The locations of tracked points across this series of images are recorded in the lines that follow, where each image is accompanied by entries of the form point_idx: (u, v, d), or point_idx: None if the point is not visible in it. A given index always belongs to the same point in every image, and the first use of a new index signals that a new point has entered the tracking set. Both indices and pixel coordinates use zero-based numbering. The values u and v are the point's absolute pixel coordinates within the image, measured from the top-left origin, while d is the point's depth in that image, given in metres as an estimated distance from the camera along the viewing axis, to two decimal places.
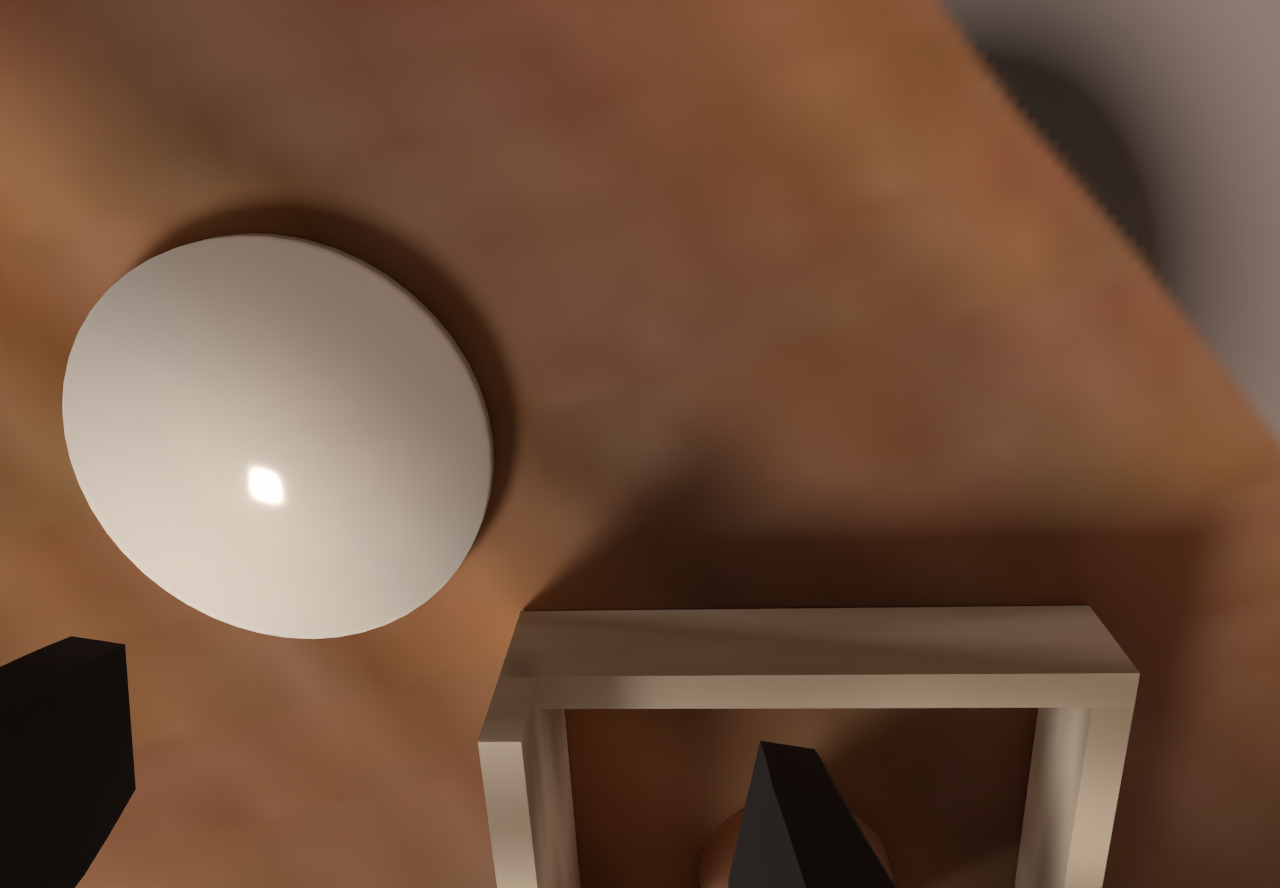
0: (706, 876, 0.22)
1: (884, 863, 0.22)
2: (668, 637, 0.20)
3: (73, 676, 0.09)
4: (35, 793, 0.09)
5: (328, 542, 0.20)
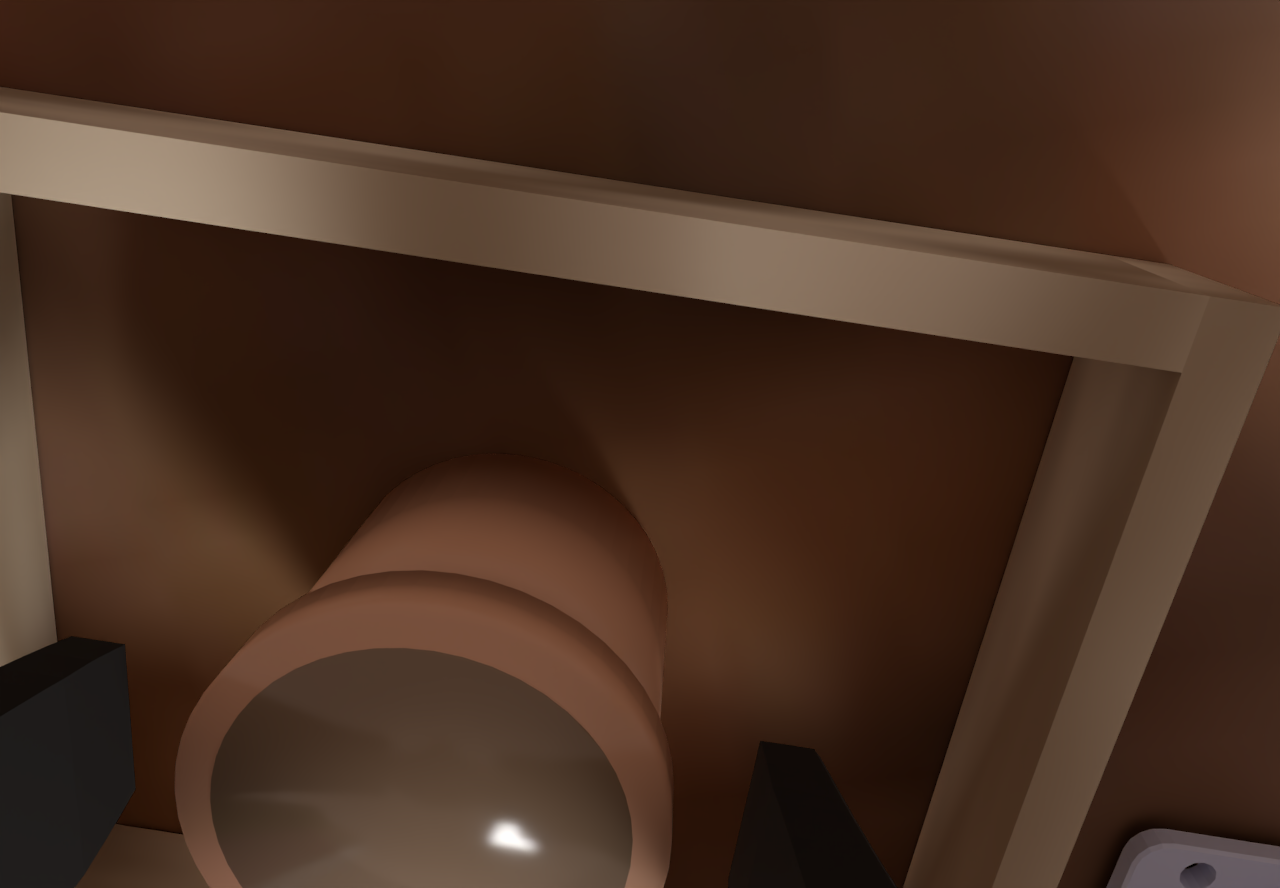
0: None
1: (415, 490, 0.12)
2: None
3: (73, 676, 0.09)
4: (35, 793, 0.09)
5: None
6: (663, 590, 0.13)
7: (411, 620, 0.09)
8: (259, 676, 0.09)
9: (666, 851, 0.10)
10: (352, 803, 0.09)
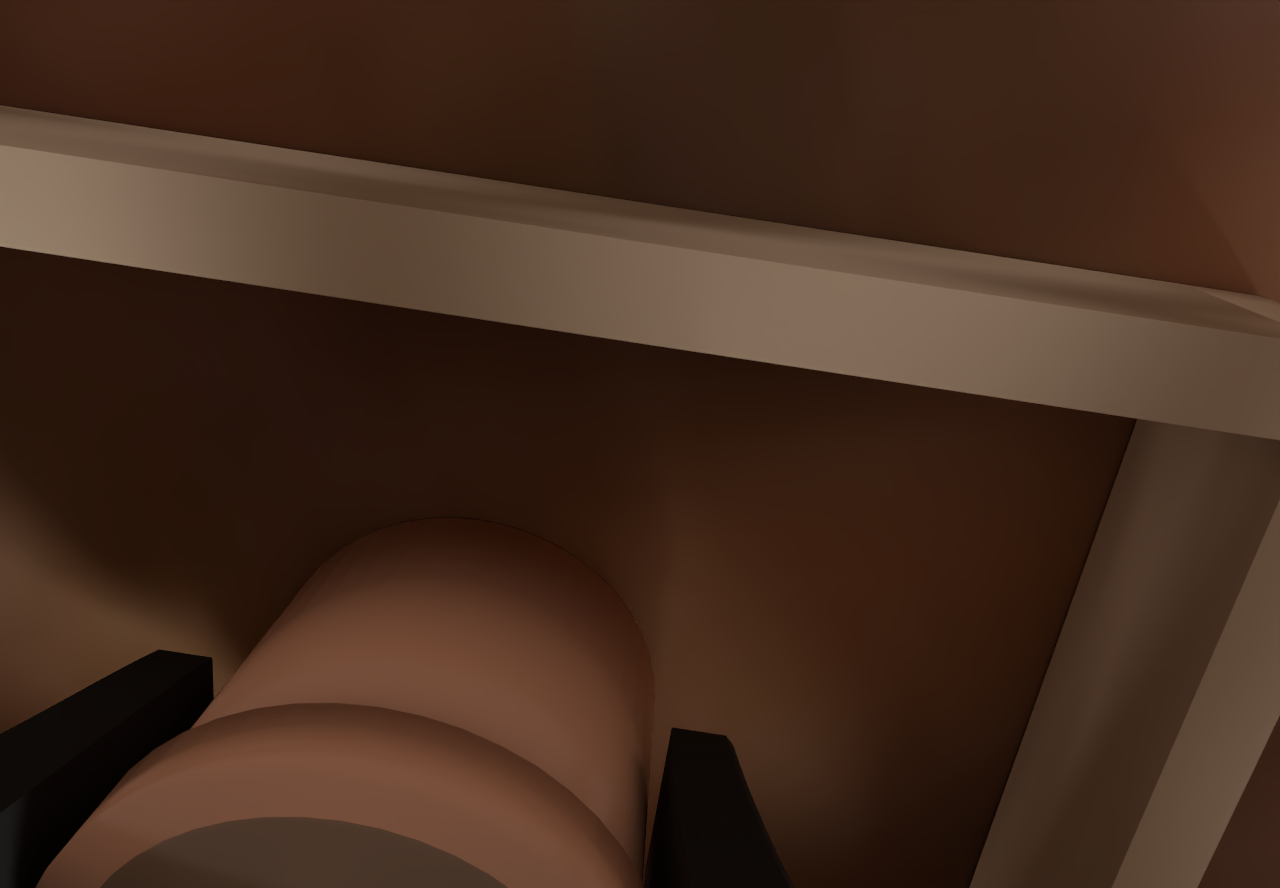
0: None
1: (348, 567, 0.10)
2: None
3: (168, 690, 0.09)
4: None
5: None
6: (649, 678, 0.11)
7: (311, 783, 0.07)
8: (117, 850, 0.07)
9: None
10: None
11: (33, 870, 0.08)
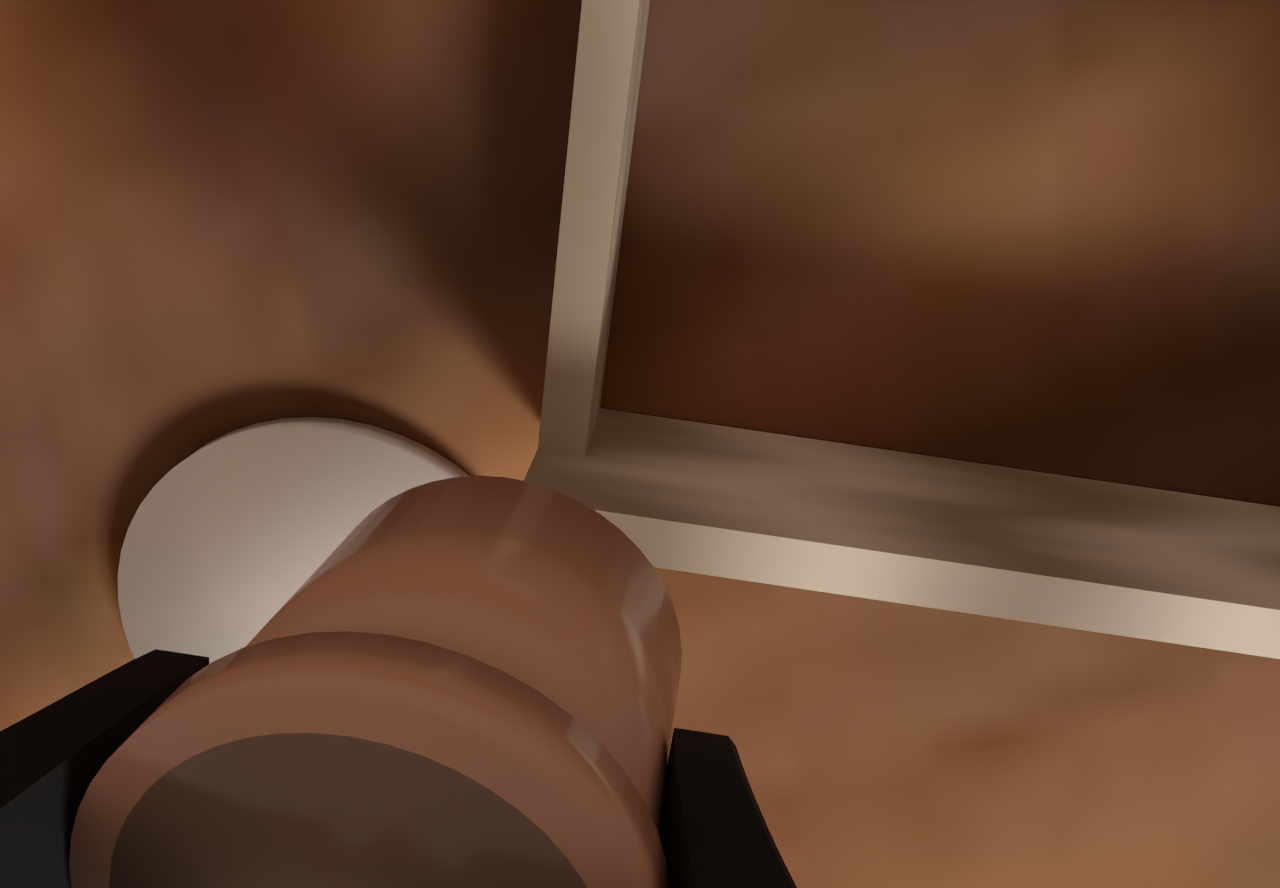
0: None
1: (401, 514, 0.11)
2: None
3: (164, 690, 0.09)
4: None
5: None
6: (677, 652, 0.12)
7: (362, 704, 0.07)
8: (174, 749, 0.07)
9: None
10: None
11: (28, 869, 0.08)
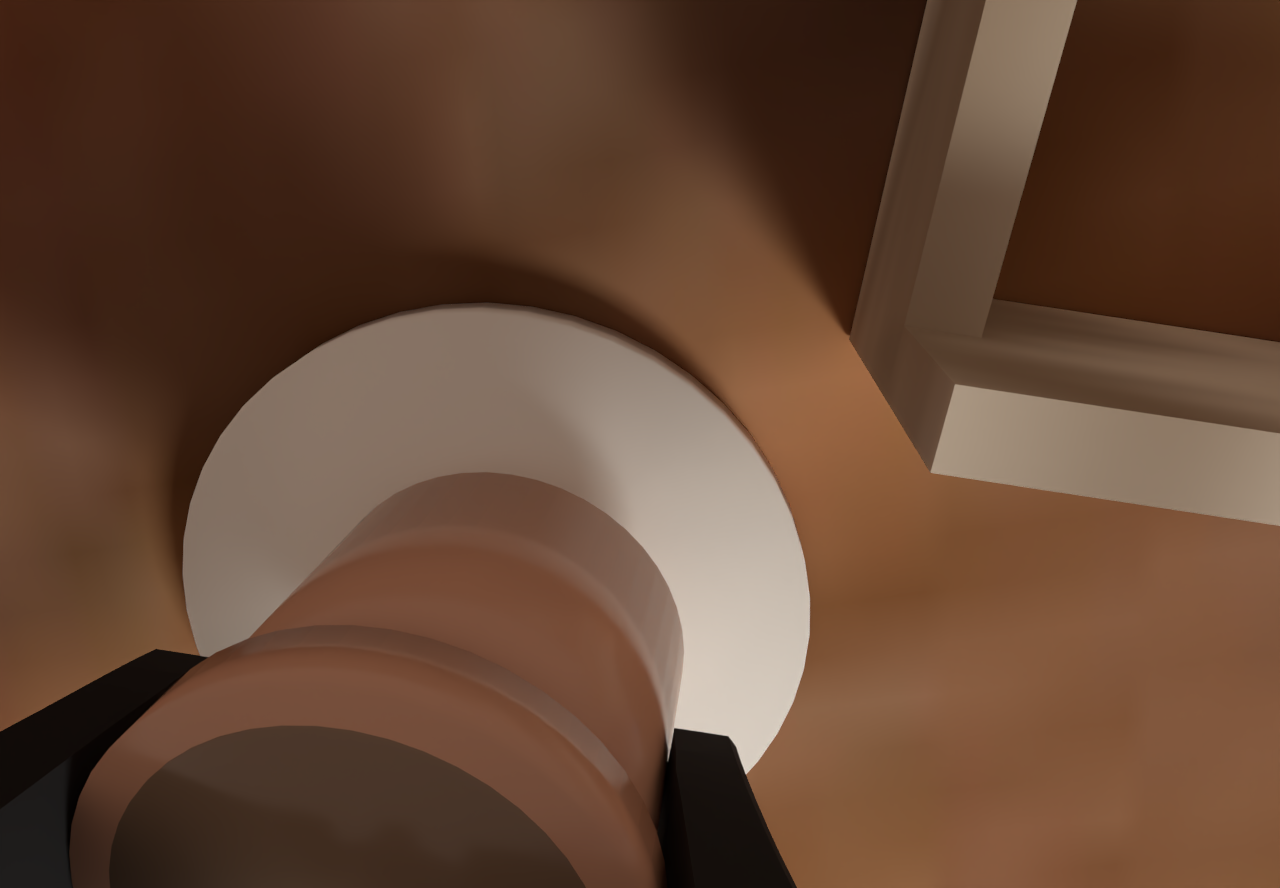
0: None
1: (406, 508, 0.11)
2: (936, 57, 0.10)
3: (165, 690, 0.09)
4: None
5: None
6: (680, 653, 0.11)
7: (364, 699, 0.07)
8: (176, 738, 0.07)
9: None
10: None
11: (29, 869, 0.08)
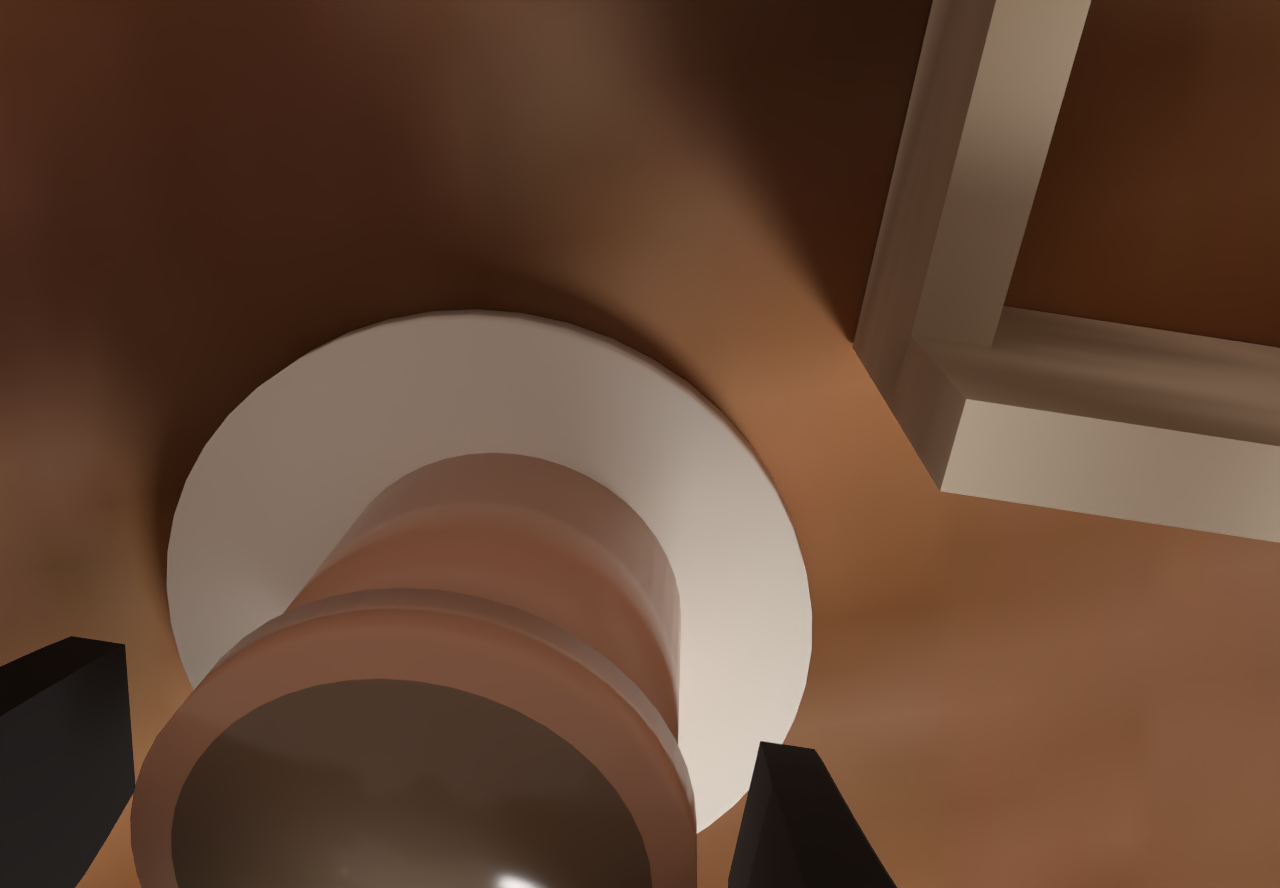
0: None
1: (421, 488, 0.11)
2: (944, 56, 0.09)
3: (73, 676, 0.09)
4: (35, 793, 0.09)
5: None
6: (679, 617, 0.12)
7: (428, 650, 0.08)
8: (243, 699, 0.08)
9: None
10: (336, 846, 0.08)
11: None
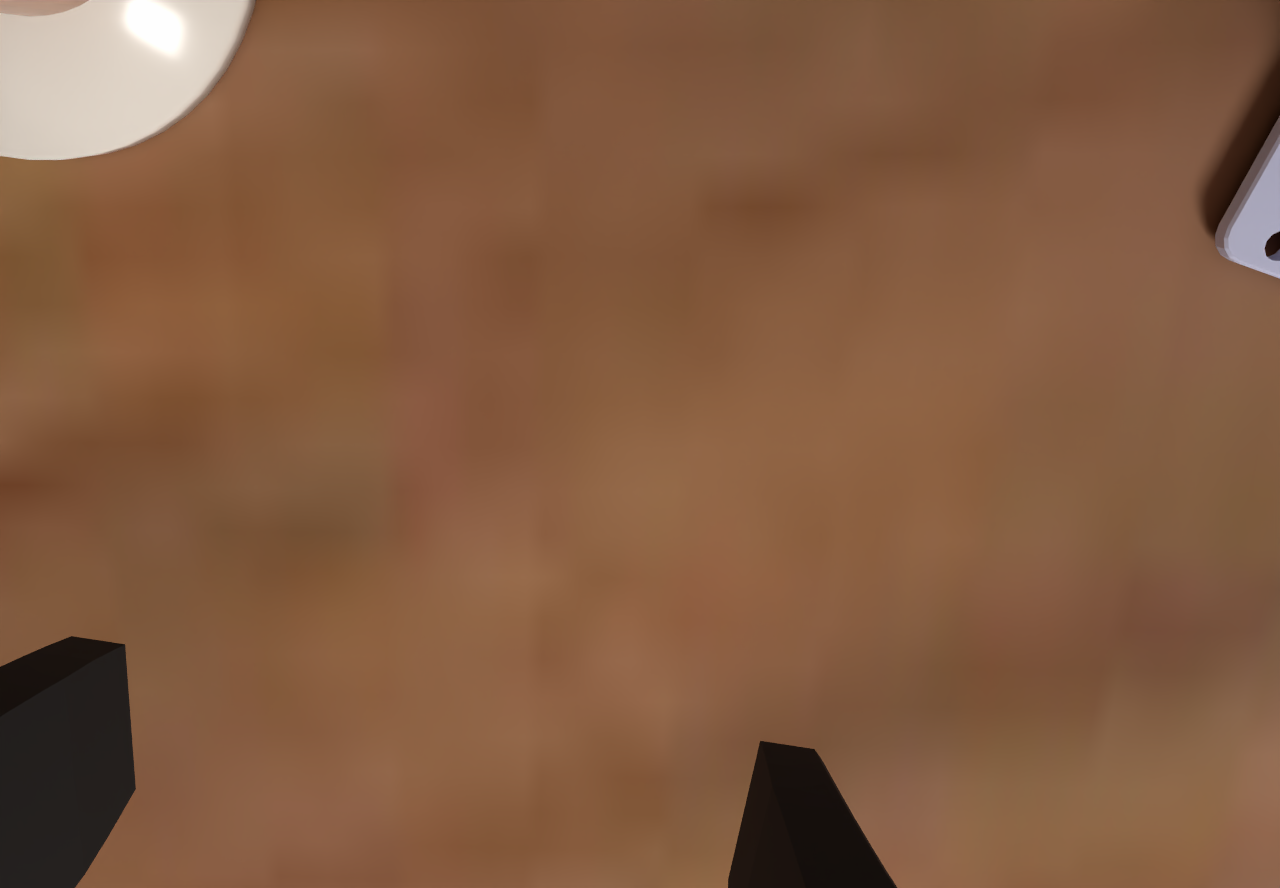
0: None
1: None
2: None
3: (73, 676, 0.09)
4: (35, 793, 0.09)
5: None
6: None
7: None
8: None
9: None
10: None
11: None
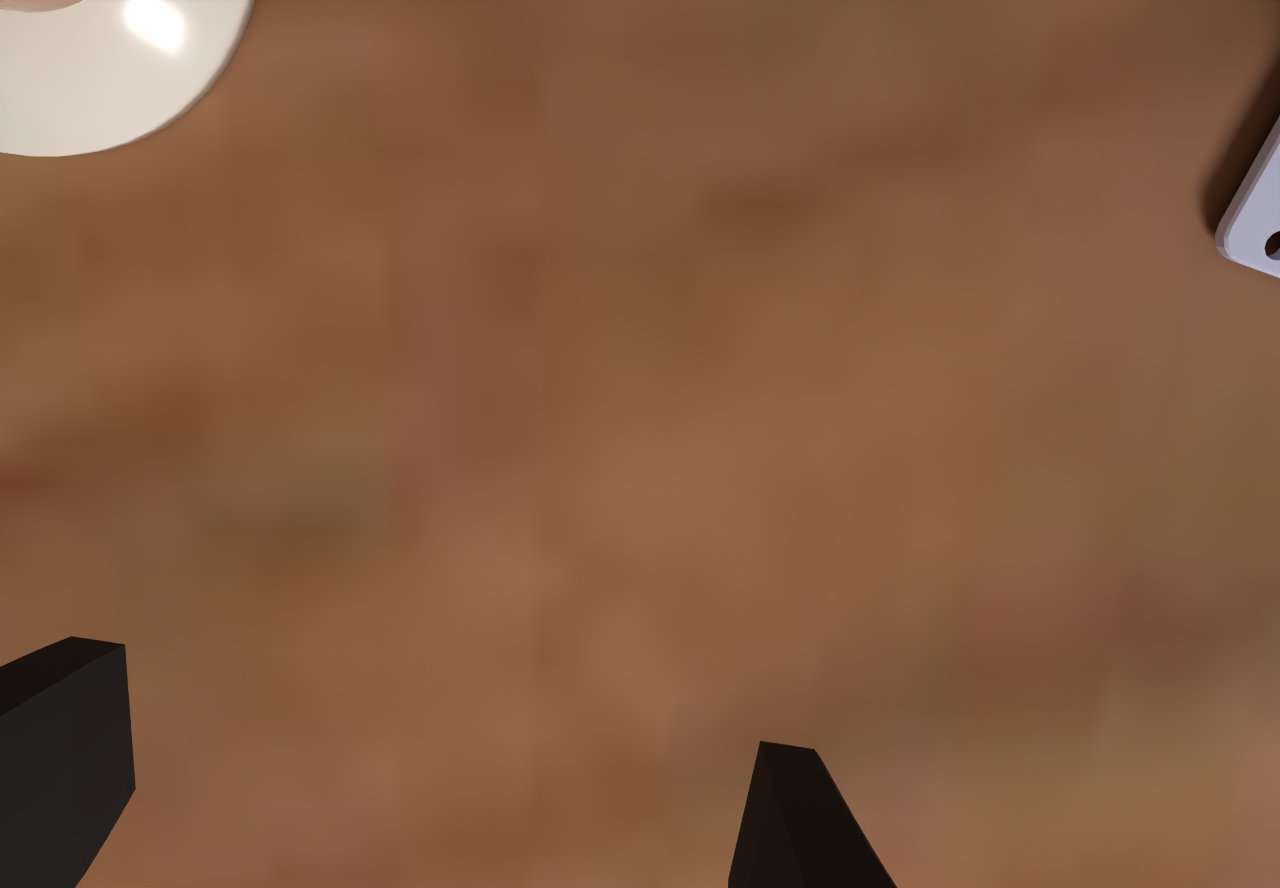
0: None
1: None
2: None
3: (73, 676, 0.09)
4: (35, 793, 0.09)
5: None
6: None
7: None
8: None
9: None
10: None
11: None
